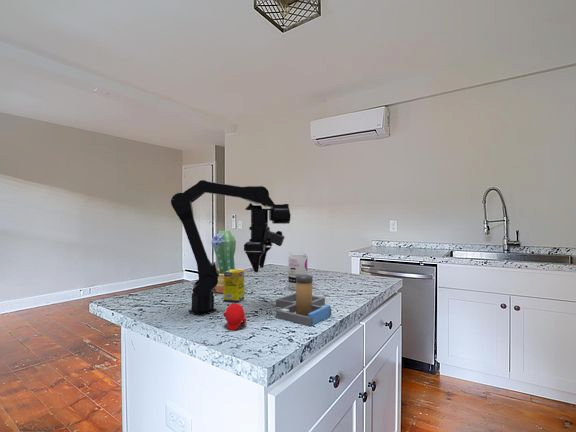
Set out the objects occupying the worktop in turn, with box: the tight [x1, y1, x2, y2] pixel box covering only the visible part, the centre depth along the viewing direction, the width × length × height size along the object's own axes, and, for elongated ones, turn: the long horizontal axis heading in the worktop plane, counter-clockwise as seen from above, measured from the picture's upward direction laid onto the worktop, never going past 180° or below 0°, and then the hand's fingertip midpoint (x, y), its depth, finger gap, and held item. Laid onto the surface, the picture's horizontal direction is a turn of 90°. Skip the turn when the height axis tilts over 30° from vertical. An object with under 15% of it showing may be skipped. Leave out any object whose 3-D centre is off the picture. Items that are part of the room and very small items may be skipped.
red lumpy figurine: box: [223, 302, 247, 332], centre depth 89 cm, size 8×6×6 cm
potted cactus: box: [211, 230, 243, 294], centre depth 132 cm, size 15×15×25 cm
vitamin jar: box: [295, 274, 313, 316], centre depth 98 cm, size 5×5×13 cm
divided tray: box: [275, 292, 332, 327], centre depth 104 cm, size 22×20×3 cm
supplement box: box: [223, 269, 245, 304], centre depth 116 cm, size 6×6×11 cm
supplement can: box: [287, 252, 308, 291], centre depth 136 cm, size 8×8×15 cm
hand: (259, 269), depth 106 cm, fingers open, 9 cm apart
